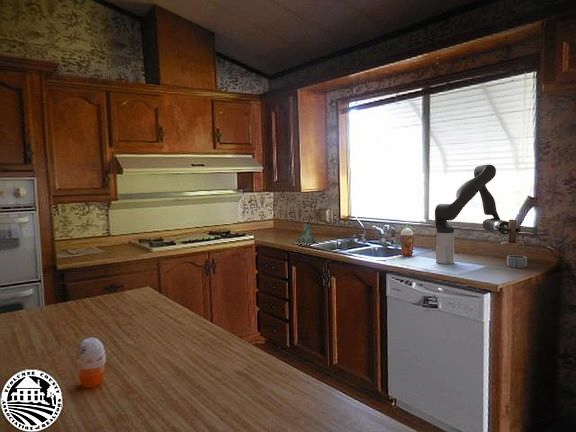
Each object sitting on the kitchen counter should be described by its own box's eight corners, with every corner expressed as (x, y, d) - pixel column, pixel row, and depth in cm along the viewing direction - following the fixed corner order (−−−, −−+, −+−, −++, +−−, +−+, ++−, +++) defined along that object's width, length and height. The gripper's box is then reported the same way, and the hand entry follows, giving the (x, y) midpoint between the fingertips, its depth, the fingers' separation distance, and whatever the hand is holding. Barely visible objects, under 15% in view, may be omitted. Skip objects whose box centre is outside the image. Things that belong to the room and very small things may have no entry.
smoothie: (397, 255, 276) (397, 223, 275) (408, 253, 279) (408, 222, 277) (405, 257, 268) (405, 224, 267) (416, 255, 271) (416, 223, 270)
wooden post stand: (518, 247, 226) (518, 221, 225) (497, 245, 235) (497, 220, 234) (527, 244, 233) (527, 219, 232) (506, 242, 242) (506, 218, 241)
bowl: (521, 268, 225) (521, 258, 225) (504, 266, 232) (504, 256, 232) (529, 265, 230) (529, 256, 230) (512, 263, 238) (512, 254, 237)
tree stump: (286, 244, 344) (289, 221, 346) (306, 247, 355) (309, 225, 357) (299, 245, 329) (302, 222, 331) (320, 249, 340) (323, 226, 341)
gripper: (489, 220, 248) (500, 223, 231) (515, 220, 247) (528, 223, 229) (489, 233, 249) (500, 237, 232) (515, 233, 247) (528, 237, 230)
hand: (514, 230), depth 231 cm, fingers closed on wooden post stand, 3 cm apart
